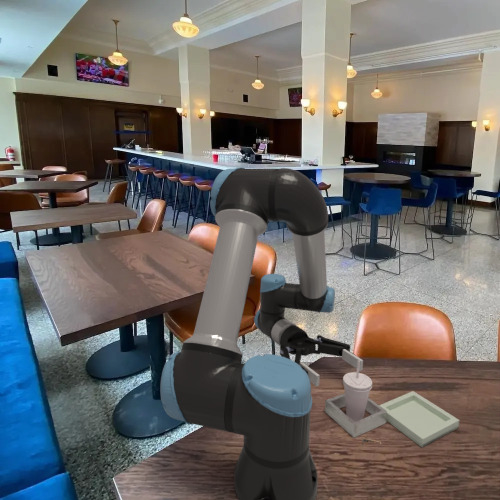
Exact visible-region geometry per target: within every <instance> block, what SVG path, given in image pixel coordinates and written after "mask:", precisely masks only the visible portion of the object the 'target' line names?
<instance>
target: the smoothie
mask: <svg viewBox="0 0 500 500" xmlns="http://www.w3.org/2000/svg"><path fill="white" fill-rule="evenodd" d="M359 367H360V361H359V360H358V361H357V369H356V371H355V372H347V373H345V374H344V375H343V377H342V384H343V386H344V393H345V402H346V406H345V414H346V415H347V416H348V417H349V418H351V419H352V420H353V421H354V422H357V421H359V420H361V419H363V418H365V414H366V410H365V409H366V405H367V400H368V398H369V396H370V392H371V390H372V388H373V380H372V379H371V377H369V376H368V375H366V374H364V373H360V371H359Z"/></svg>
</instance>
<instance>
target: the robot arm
mask: <svg viewBox="0 0 500 500" xmlns="http://www.w3.org/2000/svg"><path fill="white" fill-rule="evenodd" d="M213 181H214V182H213V183H212V187H211V190H210V194H209V195H210V198H211V199H210V202H209V205H210V209H211V210H210V211H211V213H212V216H214V219H215V223H216V224H217V226H218V227H219V231H218V234H217V237H216V242H215V246H214V249H213V254H212V259H211V262H210V266H209V270H208V275H207V278H206V282H205V286H204V291H203V294H202V297H201V298H202V299H201V302H200V306H199V312H198V315H197V318H196V319H197V320H196V322H195V327H194V331H193V334H192V335H191V336H190V337H188V338H187V339H185V340H184V341H183V342H182V346H181V350H180V351H175V352H173V353H172V354H170V355H169V356H168V359H167V361H165V363H164V366H163V369H162V372H161V377H160V386H159V387H160V388H159V389H160V390H159V391H160V401H161V403H162V407H163V409H164V411H165V413H166V414H167V415H168V417H170V418H171V419H174V420H178V421H182V422H184V423H185V424H187V425H195V426H196V425H197V426H201V427H204V428H210V429H214V430H218V431H221V432H222V431H223V432H226V433H227V432H228V433H232V434H236V435H240V436H243V446H242V448H241V451H240V453H239V457H238V459H237V461H236V463H235V466H234V472H233V473H234V474H233V481H234V482H233V483H234V491H235V494H236V497H237V499H238V500H316V498H317V493H318V485H319V484H318V482H319V481H318V480H319V479H318V472H317V471H318V470H317V468H316V464H315V461H314V459H313V455H312V453H311V450H310V435H311V434H310V430H311V410H312V406H313V398H312V386H311V383H312V385H314V386H315V387H319V386H320V374H318V373H317V372H316V371H315V370H314V369H312V368H311V367H309V366H308V365H307V364H305V363H304V361H303V362H301V360H302V356H303V357H307V356H309V355H313V354H314V355H320V354H324V355H329V356H335V357H341V359H342V360H343V361H344V362H346V363H347V364H349V365H350V366H352V367H353V368H355V369H356V370H357V361H358V360H359V361H360V367H359V372H361V371H363V366H364V360H363V359H362V358H360V357H359V356H357V355H356V354H354V353H353V352H352V351H351V345H350V344H349V343H345V342H341V341H338V340H335V339H331V338H327V337H324V336H323V335H320V334H318V335H316V338H313V337H312V338H311V337H309V335H308V334H307V332H306V331H305V330H304V329H302V328H301V327H299V326H298V325H296V323H293V322H292V321H290V320H288V319H287V318H286V317H285V312H286V309H291V310H299V311H305V312H314V313H318V314H319V313H328V314H329V313H330V314H331V313H332V312H333V311H334V308H335V300H336V299H335V298H336V297H335V296H336V291H335V288H333V287H330V286H328V283H327V282H328V281H327V261H326V257H327V256H326V241H325V240H326V238H325V230H326V229H327V228H328V225H329V211H328V210H329V209H328V206H327V203H326V201H325V199H324V196H323V194H322V193H321V191H320V190H319V188H318V186H316V184H315V183H314V182H313V181H312V180H311V179H310V178H308V176H306V175H304V174H303V173H302V172H300V171H298V170H295V169H293V168H289V167H288V168H285V167H283V168H245V167H241V166H239V167H236V168H227V169H224V170H222V171H221V172H219V174H218V175H217V176H216V177H215V179H214V180H213ZM269 222H283V223H286V227H287V229H288V231H289V232H290V233H291V234H292V240H293V247H294V253H295V261H296V268H297V275H298V282H299V283H291V282H287V280H286V277H285V275H282V274H279V273H267V274H264V275H263V276H262V277H261V278H260V290H259V295H260V297H259V299H260V300H259V301H260V304H259V305H260V309H258V310H257V311H256V313H255V316H254V319H253V321H254V326H255V327H256V328H257V329H258V330H259V331H260V333H262V334H264V335H265V336H267V337H268V338H269V339H271V340H272V341H273V342H274V343H276V344H277V345H278V346H279V355H277V354H267V353H266V354H263V355H260V354H258V355H255V356H252V357H250V358H249V359H248V360H247V361H245V363H242V360H243V353H242V350H241V349H240V347H239V346H238V340H239V335H240V334H239V333H240V329H241V325H242V319H243V314H244V309H245V304H246V300H247V299H246V298H247V295H248V294H247V293H248V289H249V284H250V279H251V274H252V268H253V264H254V259H255V254H256V250H257V245H258V240H259V236H261V235H262V234H264V233H266V232H267V230H268V224H269ZM316 348H317V349H316ZM290 355H295V357H294V360H292V359H291V356H290Z"/></svg>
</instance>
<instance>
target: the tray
mask: <svg viewBox="0 0 500 500" xmlns="http://www.w3.org/2000/svg"><path fill="white" fill-rule="evenodd" d="M378 405H379V404H378ZM379 406H381V407H382V408H383V409H385V410H386V411H387V419H386V422H388V423H389V424H390V425H392V427H394V428H396V429H397V430H398V431H399V432H401V433H402V434H404V435H405V436H406V437H407V438H409V439H410V440H411V441H412V442H414V443H415V444H417V445H418V446H419V447H421V448H424V447H426V446H427V445H429V444H432V443H434V442H435V441H436V440H439V439H440V438H442V437H444V436H446V435H448V434H450V433H452V432H454V431H455V430H458V429H459V426H460V419H458V418H457V417H455V416H454V415H452V414H451V413H449V412H447V411H446V410H444V409H443V408H441V407H440V406H438V405H436V404H434V403H433V402H431V401H430V400H428V399H426V398H425V397H423V396H422V395H420V394H418V393H417V392H415V391H414V390H412V391H410V392H407V393H405V394H403V395H400V396H399V397H396V398H393V399H391V400H389V401H386V402H384V403H382V404H380V405H379Z"/></svg>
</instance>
